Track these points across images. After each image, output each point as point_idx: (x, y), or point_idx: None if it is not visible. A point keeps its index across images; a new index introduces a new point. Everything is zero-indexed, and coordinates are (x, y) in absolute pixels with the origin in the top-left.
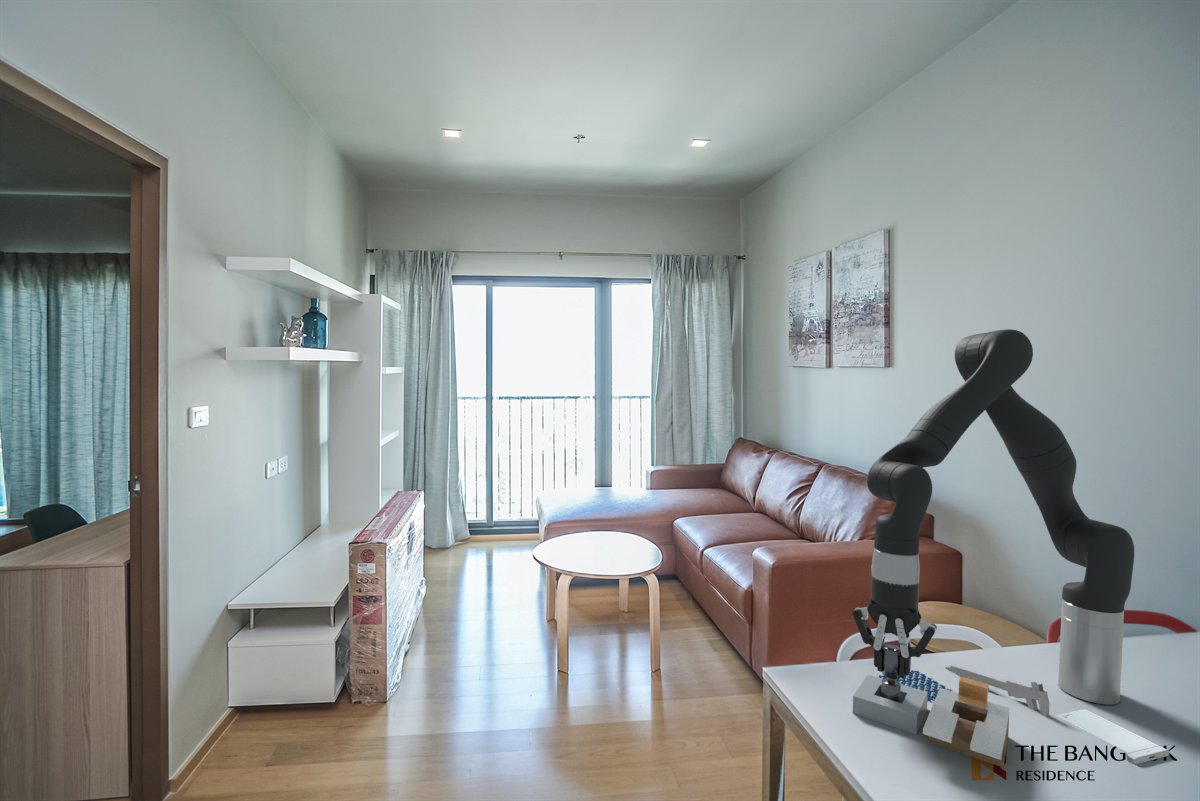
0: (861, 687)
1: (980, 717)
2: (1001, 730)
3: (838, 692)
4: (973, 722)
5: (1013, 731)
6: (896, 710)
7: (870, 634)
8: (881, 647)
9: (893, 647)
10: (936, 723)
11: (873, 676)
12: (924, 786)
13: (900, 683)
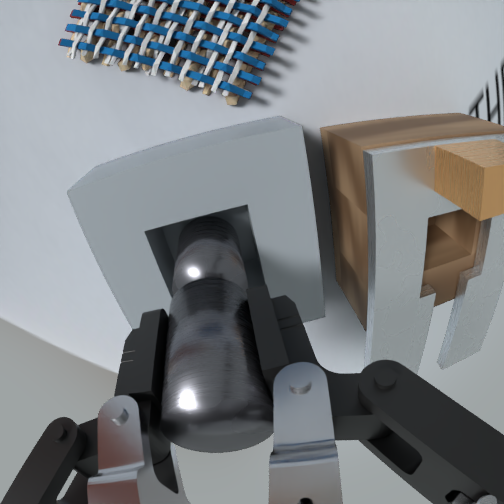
0: (124, 301)
1: None
2: (501, 276)
3: (46, 227)
4: (455, 261)
5: (457, 44)
6: None
7: (75, 464)
8: (169, 442)
9: (217, 420)
10: None
11: (87, 188)
12: (351, 372)
13: (139, 27)
